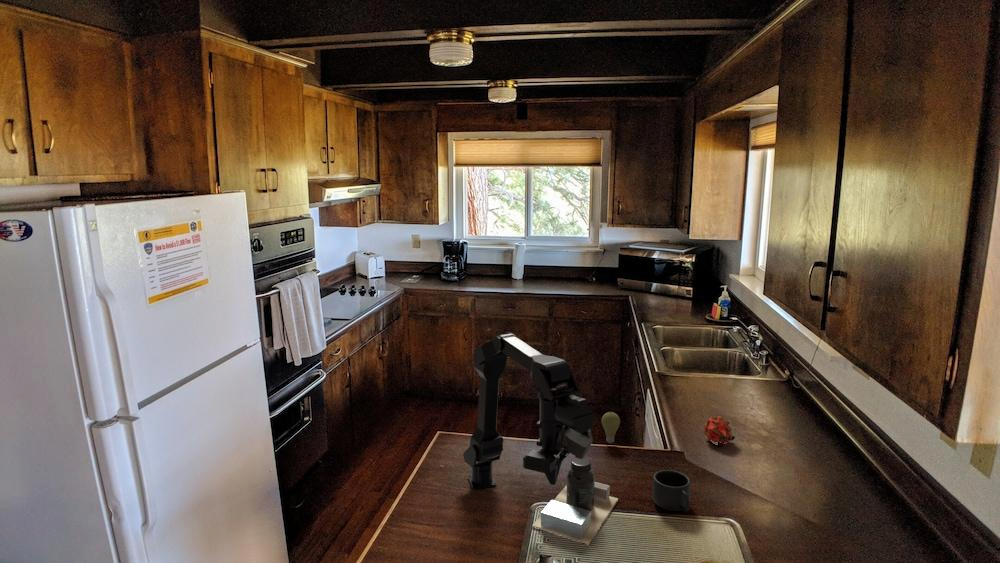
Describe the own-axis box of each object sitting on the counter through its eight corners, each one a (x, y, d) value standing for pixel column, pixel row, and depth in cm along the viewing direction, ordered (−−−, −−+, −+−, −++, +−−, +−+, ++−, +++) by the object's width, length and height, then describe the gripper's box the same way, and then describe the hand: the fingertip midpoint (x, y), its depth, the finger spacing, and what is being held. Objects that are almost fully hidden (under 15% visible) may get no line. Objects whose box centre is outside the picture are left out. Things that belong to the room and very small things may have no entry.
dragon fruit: (713, 437, 184) (723, 460, 173) (692, 423, 183) (702, 445, 172) (731, 419, 182) (743, 441, 170) (710, 404, 181) (721, 425, 169)
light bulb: (597, 443, 177) (598, 412, 175) (607, 437, 181) (608, 407, 179) (613, 448, 173) (614, 417, 171) (622, 442, 177) (623, 412, 175)
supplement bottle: (563, 499, 144) (564, 455, 142) (589, 497, 145) (591, 454, 143) (569, 514, 138) (570, 468, 135) (597, 513, 138) (598, 467, 136)
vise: (567, 486, 152) (567, 472, 151) (618, 500, 145) (618, 485, 144) (532, 527, 134) (532, 511, 133) (588, 545, 127) (589, 529, 126)
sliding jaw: (551, 513, 138) (551, 499, 137) (590, 524, 133) (590, 511, 133) (540, 525, 133) (541, 512, 132) (581, 538, 128) (581, 524, 127)
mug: (645, 497, 146) (646, 472, 145) (676, 492, 149) (677, 467, 147) (671, 524, 135) (672, 496, 134) (704, 518, 137) (705, 491, 136)
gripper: (571, 440, 112) (571, 513, 115) (601, 409, 129) (601, 473, 131) (521, 430, 118) (522, 500, 120) (556, 401, 134) (556, 463, 136)
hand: (552, 484), depth 127 cm, fingers closed
